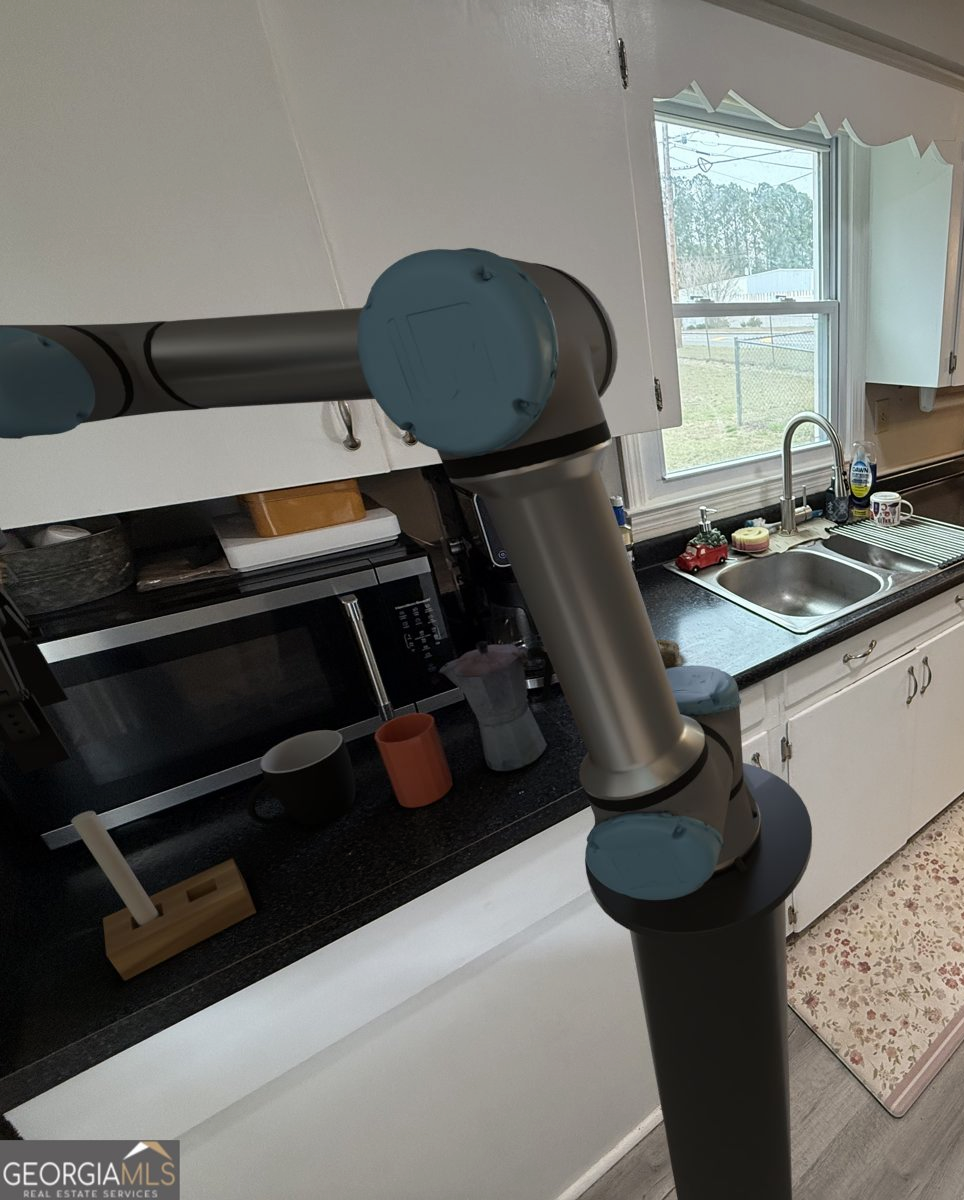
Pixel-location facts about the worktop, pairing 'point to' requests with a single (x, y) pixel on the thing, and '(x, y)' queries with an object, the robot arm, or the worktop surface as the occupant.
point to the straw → (115, 867)
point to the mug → (307, 778)
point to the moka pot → (502, 701)
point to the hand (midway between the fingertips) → (48, 732)
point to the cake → (669, 653)
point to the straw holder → (178, 919)
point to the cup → (414, 759)
